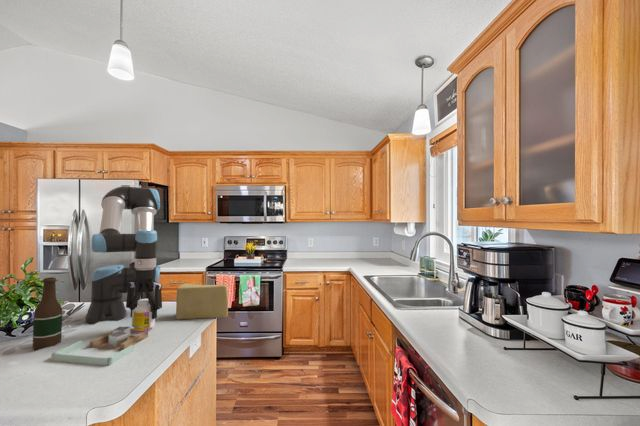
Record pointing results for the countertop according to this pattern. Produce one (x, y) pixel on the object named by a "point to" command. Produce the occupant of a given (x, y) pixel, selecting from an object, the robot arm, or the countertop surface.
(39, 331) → the beer bottle
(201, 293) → the tan rectangular block
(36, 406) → the countertop surface
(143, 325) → the supplement bottle
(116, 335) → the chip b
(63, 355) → the tray
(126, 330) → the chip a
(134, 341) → the slot board
